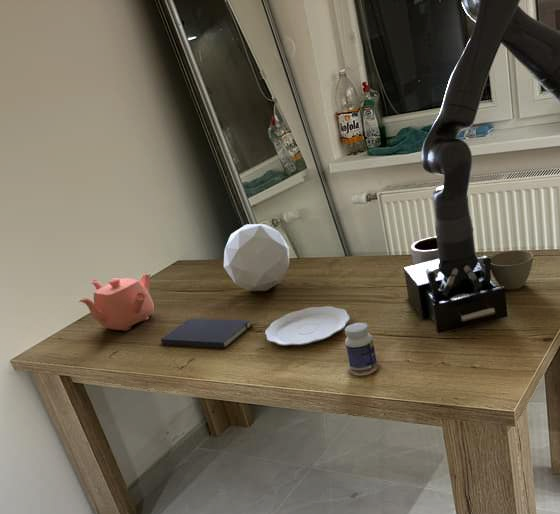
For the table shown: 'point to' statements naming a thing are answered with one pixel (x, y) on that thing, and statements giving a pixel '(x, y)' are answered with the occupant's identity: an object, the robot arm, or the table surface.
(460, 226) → the robot arm
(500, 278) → the flower pot
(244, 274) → the ball
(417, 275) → the cabinet
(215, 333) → the notebook
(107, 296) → the teapot
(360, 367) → the pill bottle
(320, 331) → the plate
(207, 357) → the table surface
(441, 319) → the drawer
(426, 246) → the planter
